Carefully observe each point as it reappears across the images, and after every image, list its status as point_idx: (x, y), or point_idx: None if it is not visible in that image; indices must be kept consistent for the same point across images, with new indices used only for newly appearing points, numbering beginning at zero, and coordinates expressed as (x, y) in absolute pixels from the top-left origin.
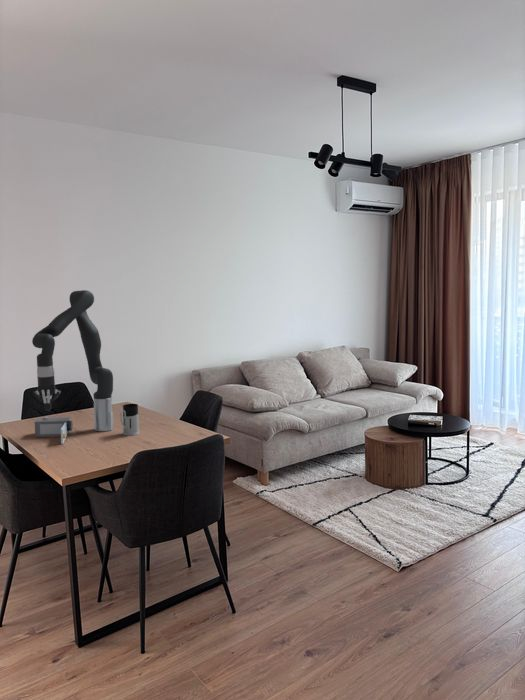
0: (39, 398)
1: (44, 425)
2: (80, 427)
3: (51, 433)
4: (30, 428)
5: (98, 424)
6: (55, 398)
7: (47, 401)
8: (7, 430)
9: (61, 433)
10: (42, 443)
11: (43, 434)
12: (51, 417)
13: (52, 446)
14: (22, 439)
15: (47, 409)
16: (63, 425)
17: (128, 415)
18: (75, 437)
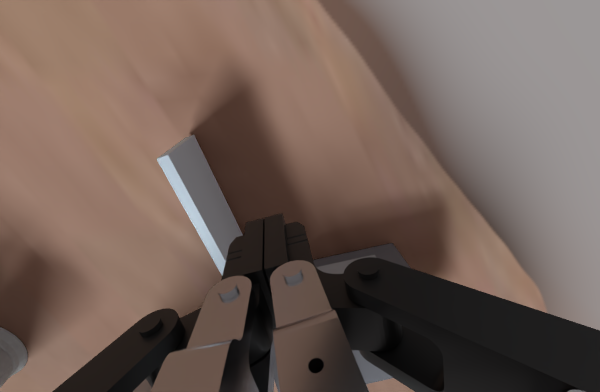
0: (424, 306)
1: None
2: None
3: (324, 267)
4: None
5: (146, 384)
6: (63, 387)
7: (247, 294)
8: None
9: (173, 149)
10: (308, 146)
11: (359, 257)
12: (373, 378)
13: (222, 92)
14: (436, 204)
15: (261, 222)
16: (219, 257)
17: None
18: (204, 263)
